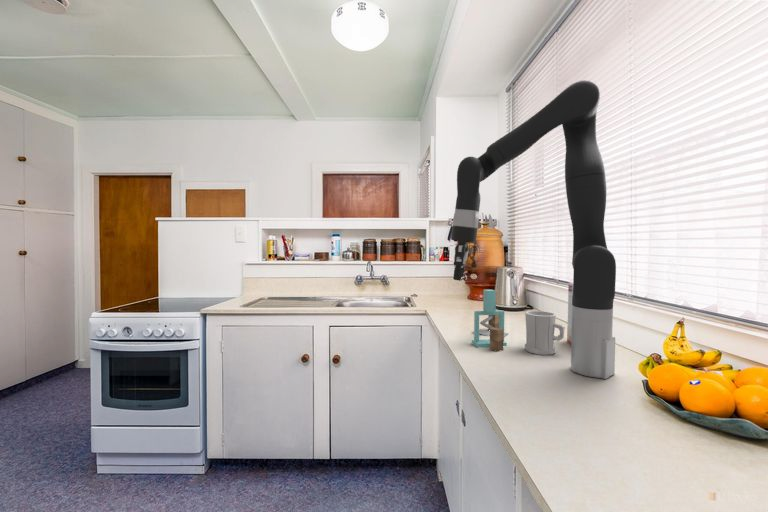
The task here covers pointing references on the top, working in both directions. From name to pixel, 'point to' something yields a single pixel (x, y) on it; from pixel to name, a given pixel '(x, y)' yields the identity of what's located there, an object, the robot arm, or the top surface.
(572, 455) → the top surface
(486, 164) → the robot arm
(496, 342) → the wood grain block
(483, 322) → the wire
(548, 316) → the cup
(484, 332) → the pad
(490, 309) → the turquoise frame with handle
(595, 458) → the top surface
